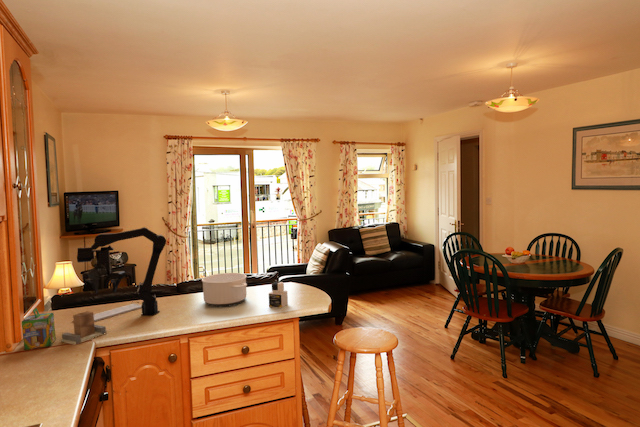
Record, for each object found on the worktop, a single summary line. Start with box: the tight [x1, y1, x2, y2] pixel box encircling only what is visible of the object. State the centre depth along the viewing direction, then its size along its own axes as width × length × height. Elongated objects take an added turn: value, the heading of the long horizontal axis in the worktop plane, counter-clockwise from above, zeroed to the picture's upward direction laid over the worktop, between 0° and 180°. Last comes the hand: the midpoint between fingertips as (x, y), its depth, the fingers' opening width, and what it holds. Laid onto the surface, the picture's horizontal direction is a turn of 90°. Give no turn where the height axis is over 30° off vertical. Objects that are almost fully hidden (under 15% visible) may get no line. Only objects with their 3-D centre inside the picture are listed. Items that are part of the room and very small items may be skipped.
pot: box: [201, 272, 248, 308], centre depth 216 cm, size 33×23×14 cm
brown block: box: [72, 310, 95, 338], centre depth 171 cm, size 6×4×9 cm
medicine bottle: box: [268, 281, 289, 309], centre depth 206 cm, size 7×7×12 cm
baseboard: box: [71, 301, 142, 323], centre depth 203 cm, size 31×3×12 cm
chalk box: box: [21, 307, 57, 351], centre depth 164 cm, size 9×9×15 cm
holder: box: [60, 324, 108, 345], centre depth 171 cm, size 14×9×3 cm, turn 153°
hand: (105, 293), depth 192 cm, fingers open, 9 cm apart
